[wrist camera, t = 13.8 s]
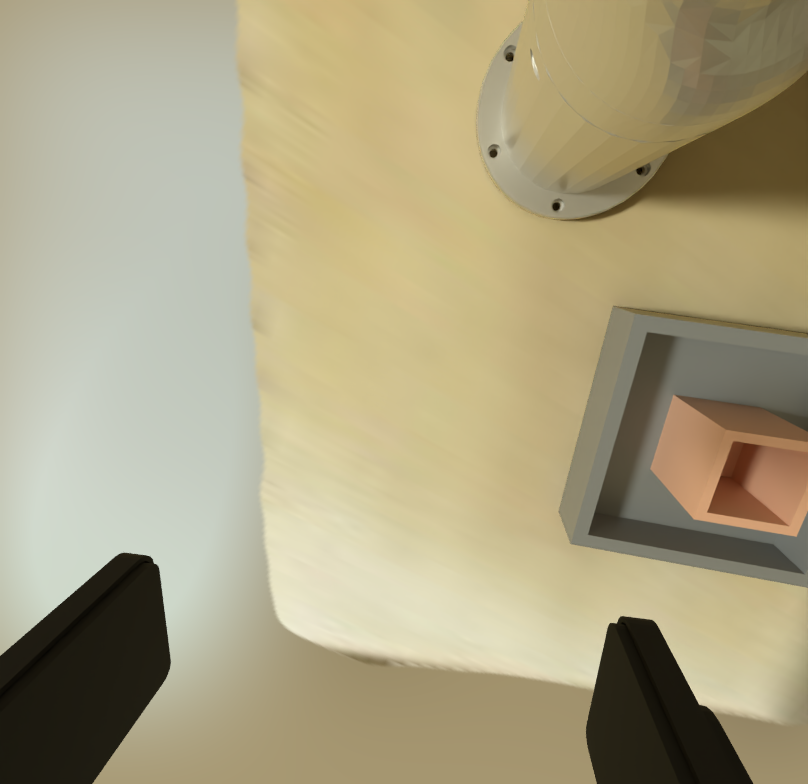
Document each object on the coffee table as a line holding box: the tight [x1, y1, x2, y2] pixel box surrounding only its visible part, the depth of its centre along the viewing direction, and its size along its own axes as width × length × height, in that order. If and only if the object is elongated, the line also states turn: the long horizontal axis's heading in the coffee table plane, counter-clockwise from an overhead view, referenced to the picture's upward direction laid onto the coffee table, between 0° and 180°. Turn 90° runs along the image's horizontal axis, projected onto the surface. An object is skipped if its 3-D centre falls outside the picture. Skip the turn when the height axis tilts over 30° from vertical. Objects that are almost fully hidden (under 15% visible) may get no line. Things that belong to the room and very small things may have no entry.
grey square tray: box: [559, 306, 808, 588], centre depth 33 cm, size 17×17×4 cm
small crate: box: [650, 395, 808, 537], centre depth 31 cm, size 6×6×7 cm
